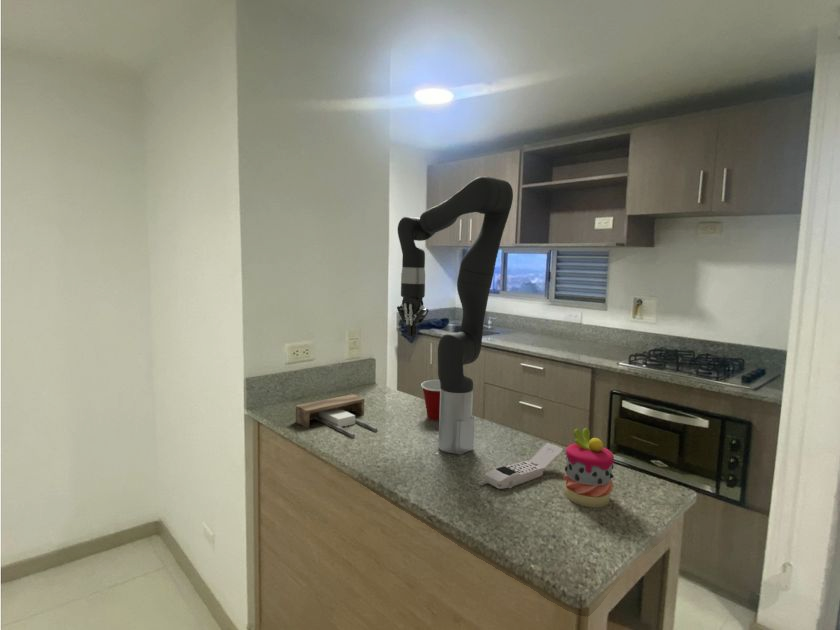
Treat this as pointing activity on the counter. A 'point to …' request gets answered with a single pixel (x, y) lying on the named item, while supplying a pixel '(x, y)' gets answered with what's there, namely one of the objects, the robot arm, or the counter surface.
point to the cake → (588, 471)
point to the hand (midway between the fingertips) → (411, 336)
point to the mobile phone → (522, 468)
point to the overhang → (344, 402)
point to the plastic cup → (432, 398)
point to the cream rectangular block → (338, 416)
